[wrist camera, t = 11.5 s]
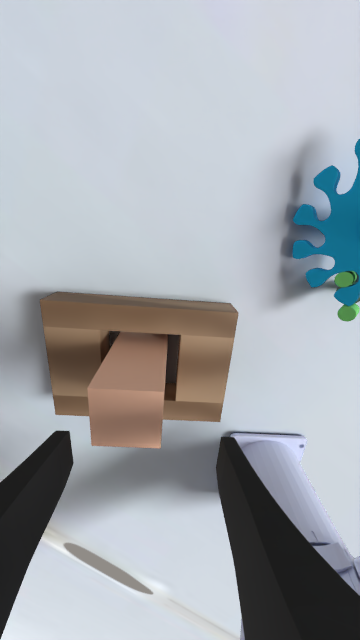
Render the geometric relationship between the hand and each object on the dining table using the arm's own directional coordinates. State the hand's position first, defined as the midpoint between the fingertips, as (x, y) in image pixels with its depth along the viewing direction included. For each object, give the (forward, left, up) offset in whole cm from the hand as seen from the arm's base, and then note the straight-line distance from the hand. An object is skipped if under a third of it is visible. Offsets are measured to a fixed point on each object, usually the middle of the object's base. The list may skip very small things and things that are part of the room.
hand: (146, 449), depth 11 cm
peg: (0, +1, -10) cm, 10 cm away
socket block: (0, +1, -10) cm, 10 cm away
